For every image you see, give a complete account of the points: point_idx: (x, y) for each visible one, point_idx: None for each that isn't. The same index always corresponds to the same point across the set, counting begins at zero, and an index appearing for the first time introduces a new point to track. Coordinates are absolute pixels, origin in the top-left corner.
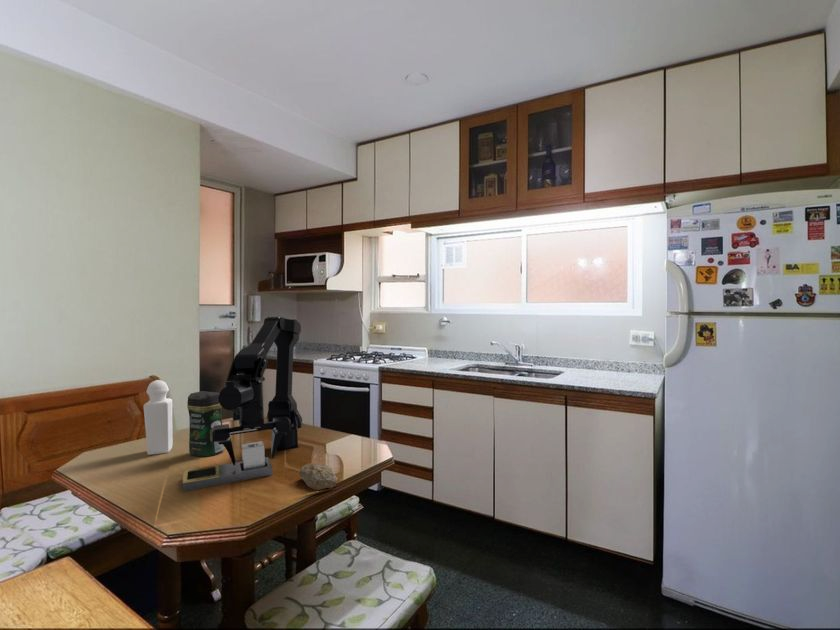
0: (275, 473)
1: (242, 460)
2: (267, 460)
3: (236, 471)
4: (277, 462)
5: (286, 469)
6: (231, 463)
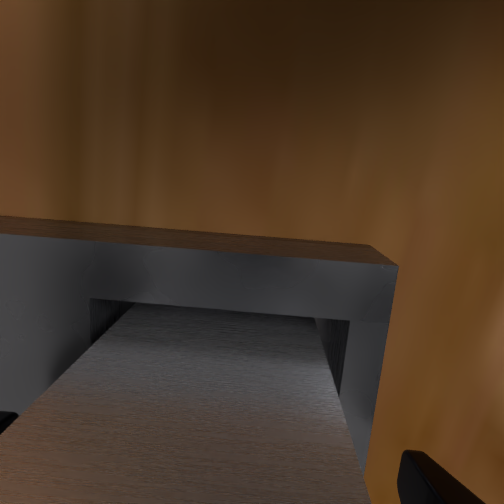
0: (369, 449)
1: (97, 343)
2: (361, 380)
3: None
4: (471, 198)
5: (469, 419)
6: (4, 245)
